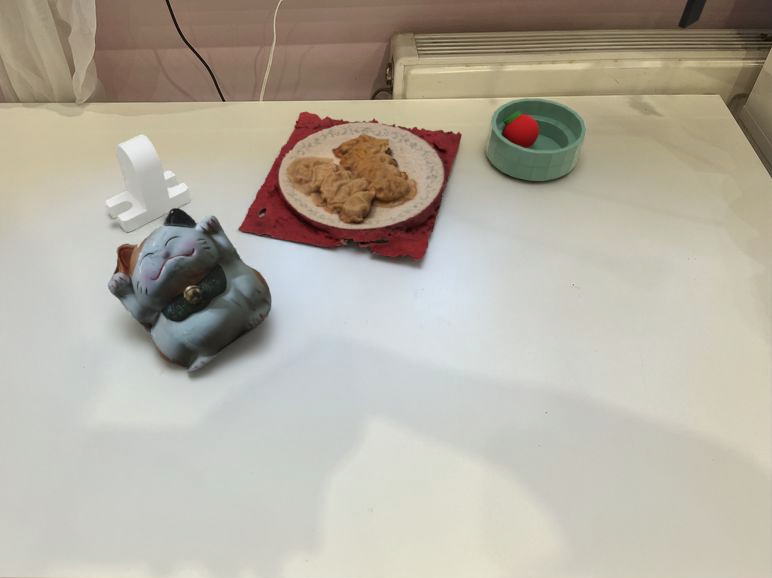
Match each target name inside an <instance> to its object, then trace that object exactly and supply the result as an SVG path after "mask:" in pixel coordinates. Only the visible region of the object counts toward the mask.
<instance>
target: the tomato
mask: <svg viewBox="0 0 772 578" xmlns="http://www.w3.org/2000/svg"><path fill="white" fill-rule="evenodd" d="M503 122H504V124H505V125H506V126H505V128H504V138H506V139H507V140H508V141H510V142H511V143H514V144H516V145H518V146H521V147H523V148H528V147H530V146H531V145H533V144H534V143H535V141H536V140H537V138H538V134H539V127H538V124H537V122H536V120H535V119H534V118H533V117H531V116H529V115H525V114H521V113H520V112H519V111H516V112H515V113H513V114H512V115H510V116H509V117H508V118H506V119H505V120H504V121H503Z"/></svg>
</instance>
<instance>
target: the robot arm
mask: <svg viewBox="0 0 772 578" xmlns="http://www.w3.org/2000/svg"><path fill="white" fill-rule="evenodd" d="M706 3H707V0H687V1H686V3H685V7H684V9H683V12H682V15H681V17H680V20H679V22H678V25H677V27H679V28H681V29H686V28H688V27H689V26H691V25H694V24H695V23H697V22H698V21H700V18H701V15H702V13H703V10H704V8H705V5H706Z"/></svg>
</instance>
